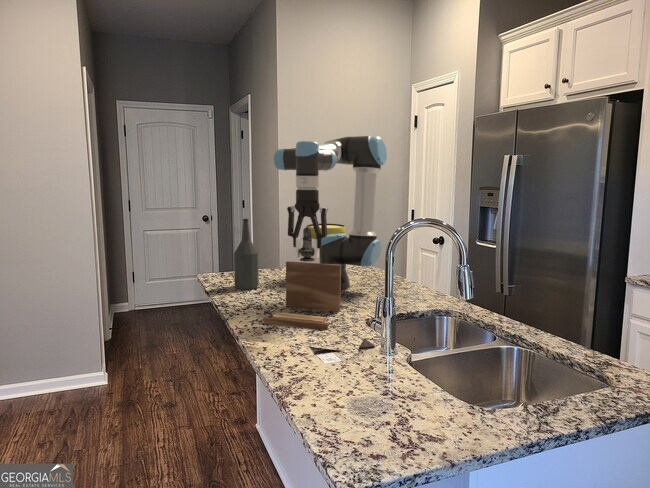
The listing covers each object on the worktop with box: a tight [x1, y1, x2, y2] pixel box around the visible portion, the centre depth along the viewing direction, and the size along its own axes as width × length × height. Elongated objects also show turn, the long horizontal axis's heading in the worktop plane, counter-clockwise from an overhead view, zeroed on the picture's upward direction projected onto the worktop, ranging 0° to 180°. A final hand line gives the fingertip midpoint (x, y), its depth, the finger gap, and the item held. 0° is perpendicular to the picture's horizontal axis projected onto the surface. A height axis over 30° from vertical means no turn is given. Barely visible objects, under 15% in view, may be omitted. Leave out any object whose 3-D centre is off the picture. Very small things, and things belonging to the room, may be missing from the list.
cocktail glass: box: [307, 223, 346, 240], centre depth 226 cm, size 18×18×25 cm
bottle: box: [233, 218, 260, 291], centre depth 207 cm, size 10×10×30 cm
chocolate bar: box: [308, 337, 375, 356], centre depth 142 cm, size 9×1×18 cm
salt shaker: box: [299, 224, 316, 262], centre depth 163 cm, size 6×6×12 cm
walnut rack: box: [263, 260, 342, 331], centre depth 163 cm, size 21×22×18 cm
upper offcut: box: [272, 312, 327, 323], centre depth 158 cm, size 4×17×2 cm, turn 73°
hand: (307, 257), depth 164 cm, fingers closed on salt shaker, 6 cm apart
